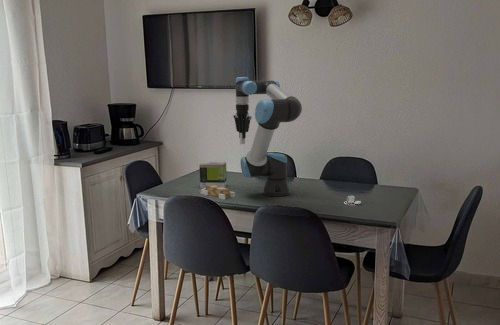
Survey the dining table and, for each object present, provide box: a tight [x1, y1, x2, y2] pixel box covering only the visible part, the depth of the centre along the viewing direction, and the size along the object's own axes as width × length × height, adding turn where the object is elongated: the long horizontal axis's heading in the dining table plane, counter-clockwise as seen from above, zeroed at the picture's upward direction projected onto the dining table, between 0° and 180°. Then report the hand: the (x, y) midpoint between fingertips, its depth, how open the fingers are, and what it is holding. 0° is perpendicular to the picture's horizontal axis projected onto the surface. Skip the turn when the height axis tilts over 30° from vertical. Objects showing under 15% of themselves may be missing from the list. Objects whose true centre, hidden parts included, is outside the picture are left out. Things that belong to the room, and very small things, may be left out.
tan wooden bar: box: [206, 184, 231, 200], centre depth 278 cm, size 16×4×5 cm, turn 44°
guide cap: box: [218, 191, 236, 201], centre depth 273 cm, size 4×8×2 cm, turn 137°
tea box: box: [199, 161, 228, 189], centre depth 298 cm, size 15×10×15 cm, turn 84°
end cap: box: [199, 188, 209, 196], centre depth 283 cm, size 6×8×2 cm
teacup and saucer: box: [343, 195, 362, 206], centre depth 261 cm, size 9×8×4 cm
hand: (242, 143), depth 293 cm, fingers closed
